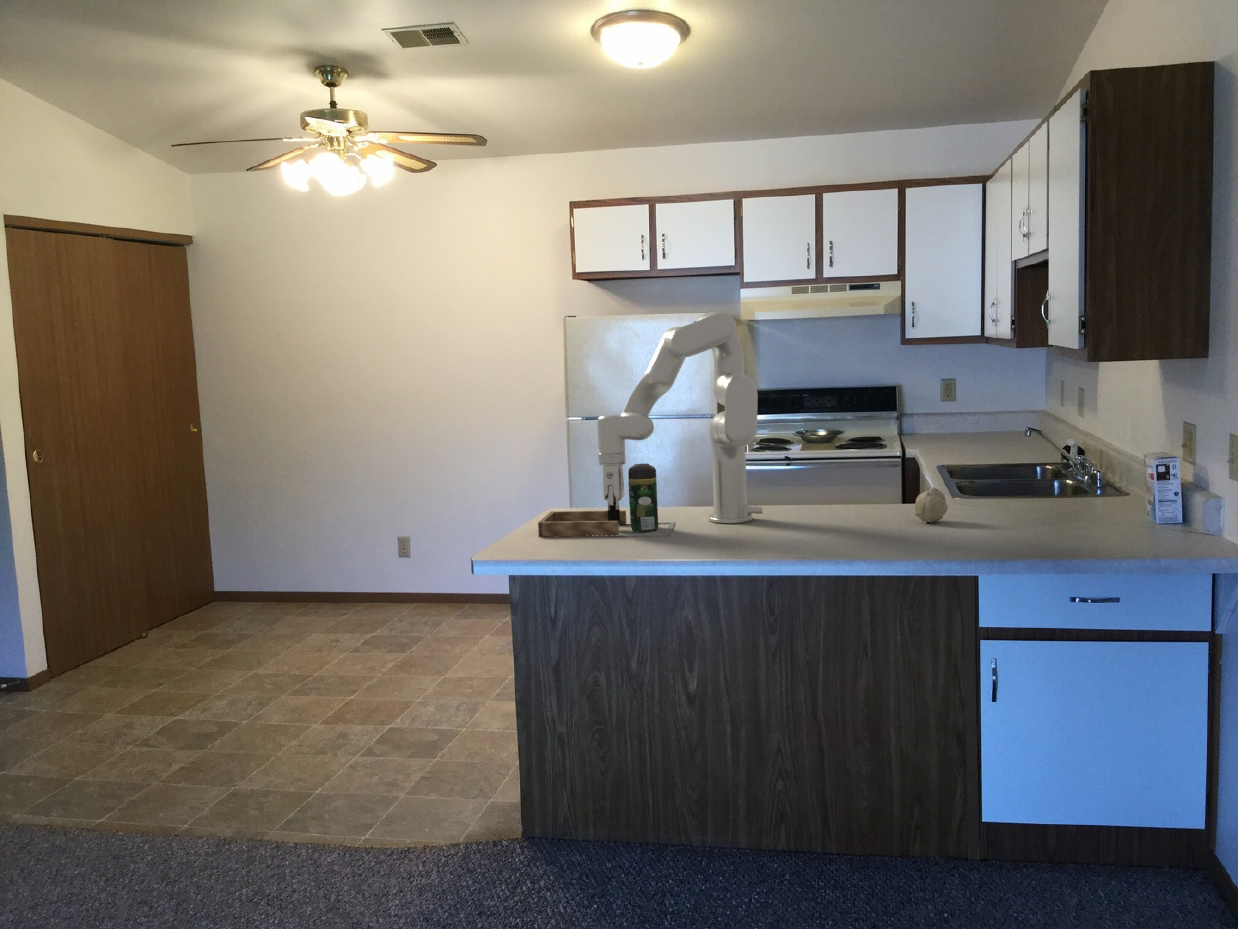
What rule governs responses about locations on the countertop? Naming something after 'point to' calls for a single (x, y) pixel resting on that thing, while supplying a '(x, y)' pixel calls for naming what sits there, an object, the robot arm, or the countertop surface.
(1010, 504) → the countertop surface
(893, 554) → the countertop surface
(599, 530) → the wooden u-shaped frame
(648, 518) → the coffee jar
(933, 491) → the garlic bulb
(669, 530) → the grey bay
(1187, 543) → the countertop surface
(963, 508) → the countertop surface
